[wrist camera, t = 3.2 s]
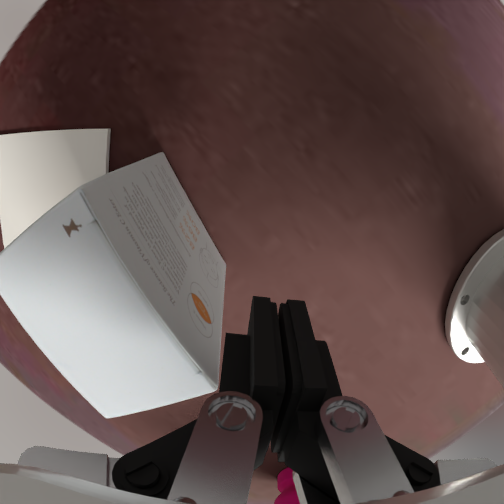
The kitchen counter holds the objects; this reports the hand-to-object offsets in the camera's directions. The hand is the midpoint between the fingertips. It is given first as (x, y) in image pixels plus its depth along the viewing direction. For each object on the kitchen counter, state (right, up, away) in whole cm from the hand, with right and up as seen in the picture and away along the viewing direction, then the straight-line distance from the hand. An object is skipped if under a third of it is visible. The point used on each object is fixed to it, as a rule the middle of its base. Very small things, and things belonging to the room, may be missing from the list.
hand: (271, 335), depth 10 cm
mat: (-15, +5, +8) cm, 18 cm away
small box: (-6, +4, +9) cm, 11 cm away
